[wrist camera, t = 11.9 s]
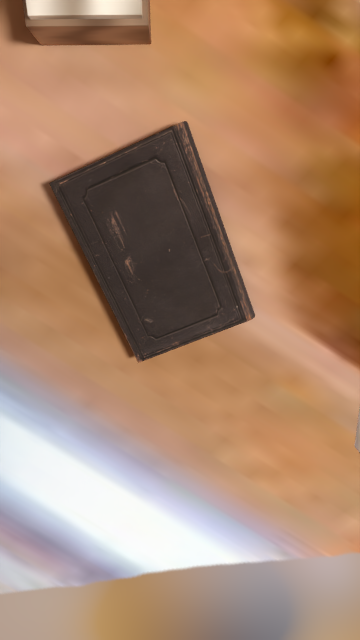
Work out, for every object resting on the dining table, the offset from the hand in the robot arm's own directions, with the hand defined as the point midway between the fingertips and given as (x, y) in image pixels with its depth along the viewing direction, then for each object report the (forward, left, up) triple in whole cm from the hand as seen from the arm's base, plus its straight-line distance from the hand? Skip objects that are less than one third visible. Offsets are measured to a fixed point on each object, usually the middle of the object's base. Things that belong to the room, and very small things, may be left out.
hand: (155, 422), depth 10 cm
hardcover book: (-1, +2, -32) cm, 32 cm away
